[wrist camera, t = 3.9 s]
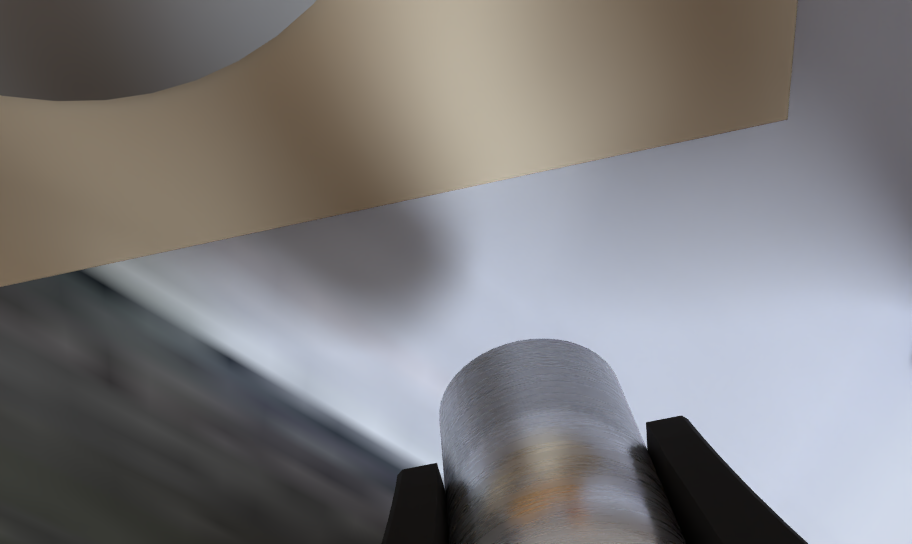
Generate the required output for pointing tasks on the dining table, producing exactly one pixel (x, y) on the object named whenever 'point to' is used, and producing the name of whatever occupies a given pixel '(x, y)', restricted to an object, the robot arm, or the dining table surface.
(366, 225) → the dining table surface
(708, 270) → the dining table surface
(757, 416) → the dining table surface
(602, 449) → the pin
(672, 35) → the rosette board
